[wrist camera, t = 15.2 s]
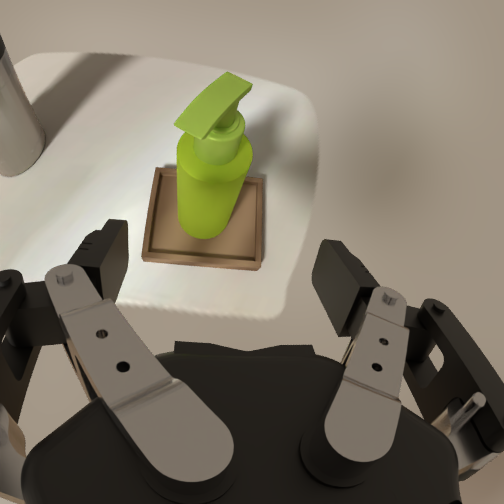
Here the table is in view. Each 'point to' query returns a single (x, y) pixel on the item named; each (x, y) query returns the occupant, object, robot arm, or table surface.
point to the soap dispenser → (212, 157)
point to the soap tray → (203, 250)
